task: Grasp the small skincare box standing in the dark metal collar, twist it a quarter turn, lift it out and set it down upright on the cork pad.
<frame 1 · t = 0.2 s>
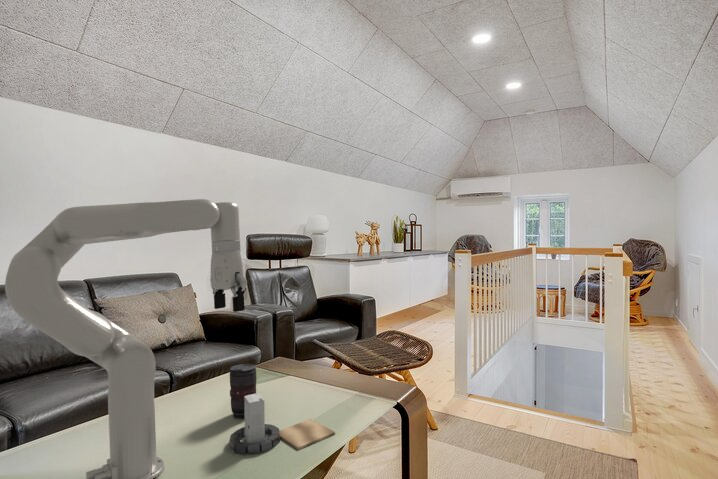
hand: (229, 309, 112), 36 cm above the table, tool pointing down, fingers open, 9 cm apart
collar: (255, 442, 110), on the table
camera lens: (244, 415, 128), on the table
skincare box: (255, 442, 110), resting in collar
pad: (304, 434, 114), on the table
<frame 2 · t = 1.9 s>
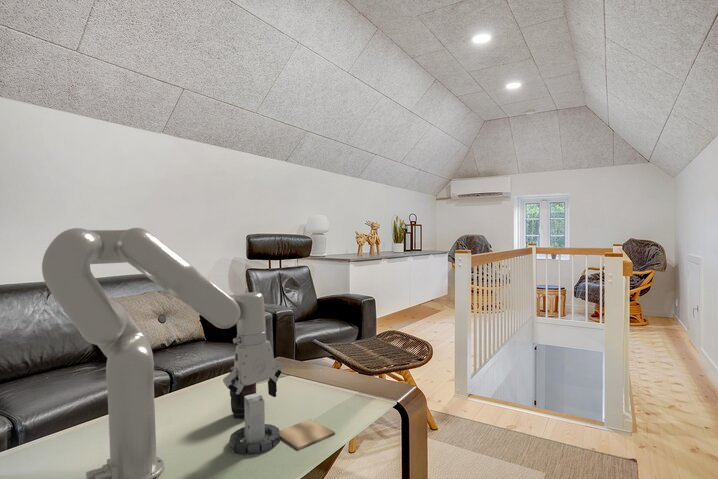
hand: (256, 401, 111), 11 cm above the table, tool pointing down, fingers open, 9 cm apart
nothing on the table moved.
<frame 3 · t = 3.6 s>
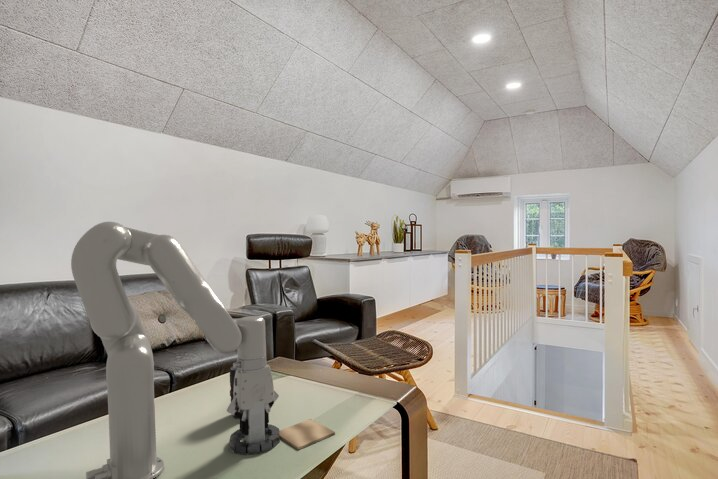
hand: (254, 429, 110), 3 cm above the table, tool pointing down, fingers closed on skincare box, 5 cm apart
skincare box: (255, 442, 110), resting in collar, touching gripper
everything else where it was.
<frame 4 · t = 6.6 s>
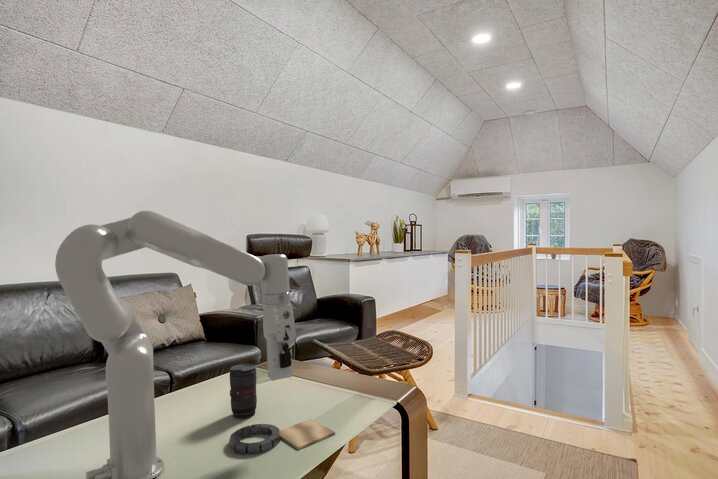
hand: (280, 364, 112), 20 cm above the table, tool pointing down, fingers closed on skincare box, 5 cm apart
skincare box: (280, 377, 112), point 17 cm above the table, touching gripper
everything else where it was.
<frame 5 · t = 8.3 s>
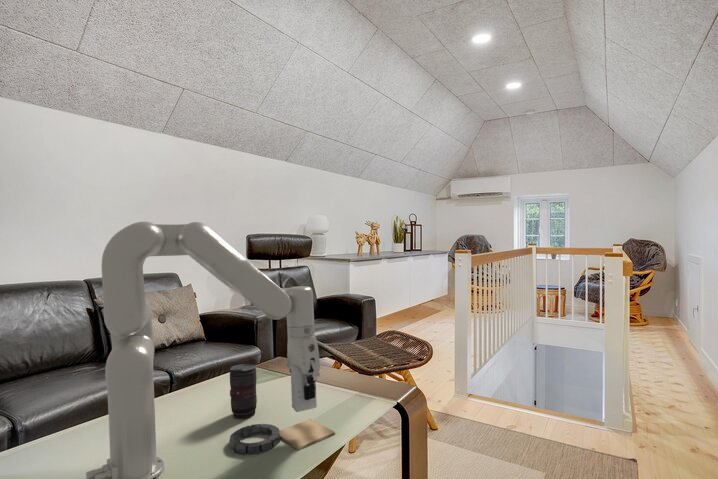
hand: (303, 395, 114), 11 cm above the table, tool pointing down, fingers closed on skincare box, 5 cm apart
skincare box: (304, 408, 114), point 7 cm above the table, touching gripper
everything else where it was.
when the fingers open (5 cm above the table, at t = 9.9 s): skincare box drops 1 cm, resting on pad.
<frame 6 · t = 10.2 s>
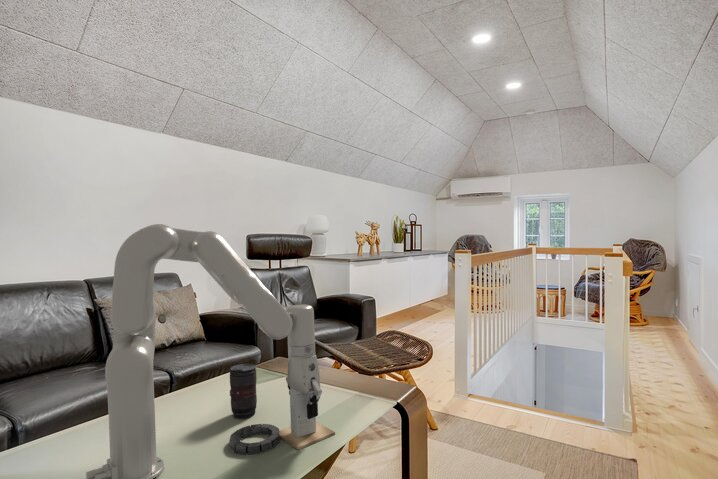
hand: (304, 412, 114), 6 cm above the table, tool pointing down, fingers open, 7 cm apart
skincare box: (303, 432, 114), resting on pad
everything else where it was.
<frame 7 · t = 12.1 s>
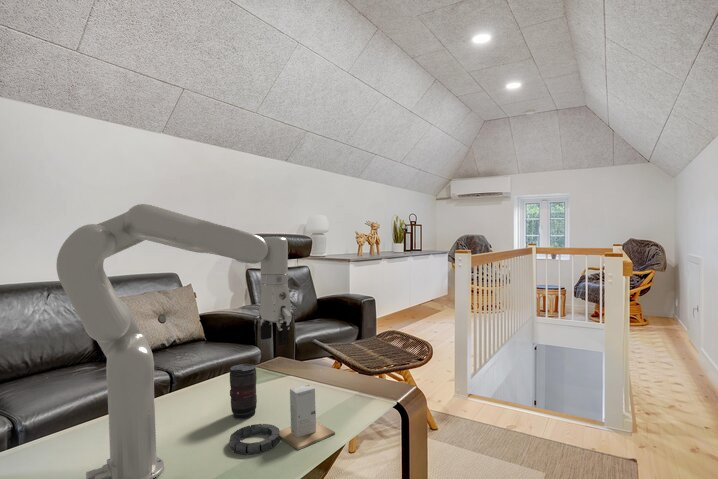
hand: (274, 341, 114), 26 cm above the table, tool pointing down, fingers open, 9 cm apart
nothing on the table moved.
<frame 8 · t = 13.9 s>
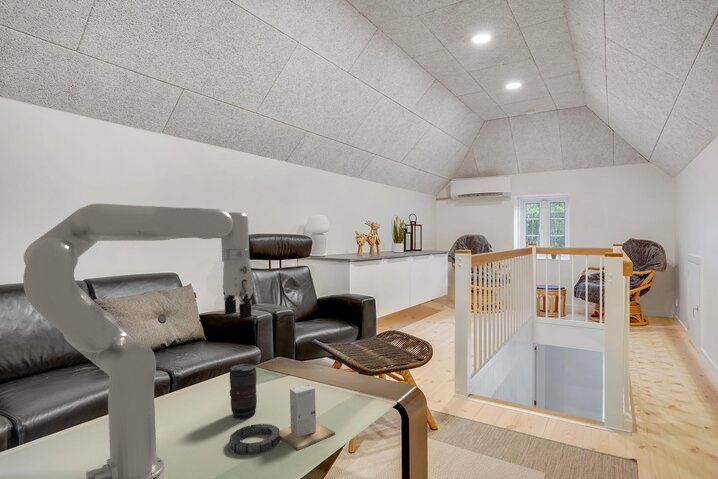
hand: (237, 315, 116), 33 cm above the table, tool pointing down, fingers open, 9 cm apart
nothing on the table moved.
at the end: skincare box inside the target area on the pad (0.3 cm from its centre), point 0.4 cm above the pad's base; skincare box tilted 0°; the gripper is holding nothing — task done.
